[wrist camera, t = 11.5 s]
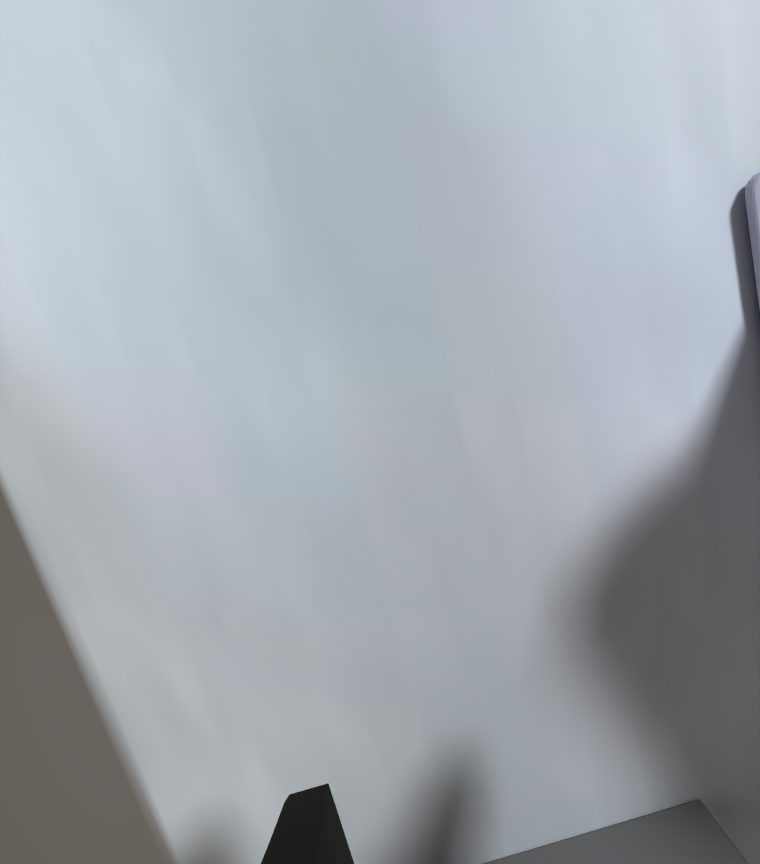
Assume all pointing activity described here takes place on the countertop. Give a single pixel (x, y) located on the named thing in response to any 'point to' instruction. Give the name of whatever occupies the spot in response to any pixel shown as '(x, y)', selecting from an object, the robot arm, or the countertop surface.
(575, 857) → the charcoal plinth
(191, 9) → the countertop surface
